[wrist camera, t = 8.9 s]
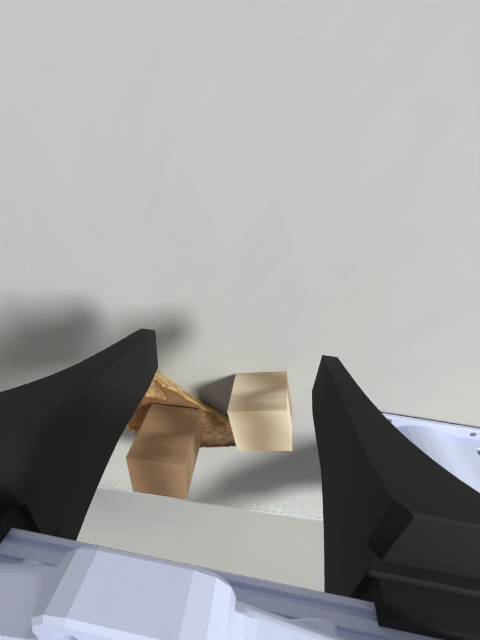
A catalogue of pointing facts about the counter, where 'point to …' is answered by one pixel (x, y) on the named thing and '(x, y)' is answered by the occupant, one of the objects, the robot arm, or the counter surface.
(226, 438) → the shard
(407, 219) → the counter surface
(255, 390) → the maple block
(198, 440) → the walnut block
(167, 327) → the counter surface
